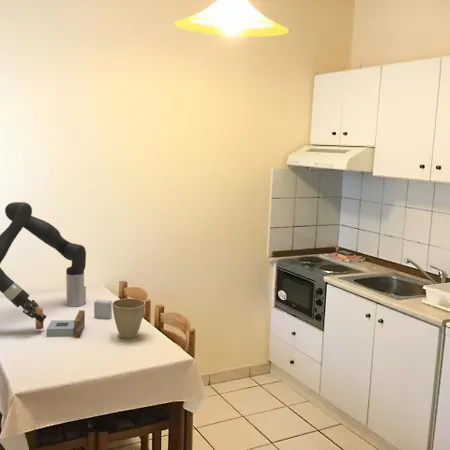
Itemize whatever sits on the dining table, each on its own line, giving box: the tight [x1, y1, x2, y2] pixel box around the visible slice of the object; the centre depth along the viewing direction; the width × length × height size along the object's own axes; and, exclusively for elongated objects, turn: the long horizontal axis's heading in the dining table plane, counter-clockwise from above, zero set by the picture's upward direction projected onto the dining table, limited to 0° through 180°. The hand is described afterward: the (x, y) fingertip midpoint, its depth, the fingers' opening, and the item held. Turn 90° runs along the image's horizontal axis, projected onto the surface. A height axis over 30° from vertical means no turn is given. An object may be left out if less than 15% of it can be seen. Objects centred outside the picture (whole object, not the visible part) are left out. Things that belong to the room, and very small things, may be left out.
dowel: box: [35, 305, 44, 330], centre depth 262 cm, size 3×3×10 cm
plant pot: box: [112, 297, 146, 340], centre depth 260 cm, size 15×15×16 cm
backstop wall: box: [73, 310, 86, 339], centre depth 265 cm, size 2×15×8 cm, turn 6°
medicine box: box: [93, 299, 113, 320], centre depth 286 cm, size 8×4×9 cm, turn 84°
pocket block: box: [46, 319, 75, 338], centre depth 264 cm, size 12×12×4 cm
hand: (43, 319), depth 263 cm, fingers closed on dowel, 3 cm apart
